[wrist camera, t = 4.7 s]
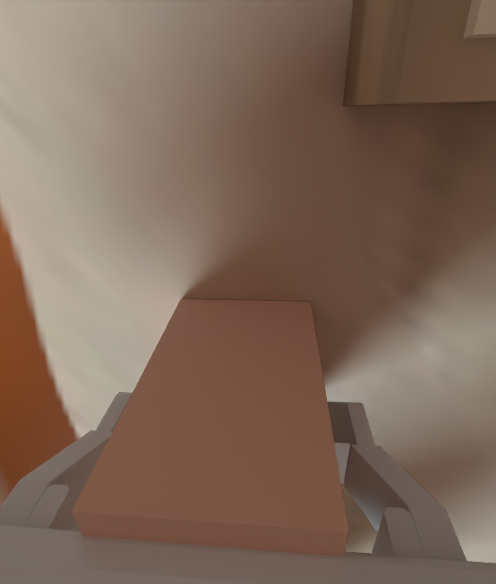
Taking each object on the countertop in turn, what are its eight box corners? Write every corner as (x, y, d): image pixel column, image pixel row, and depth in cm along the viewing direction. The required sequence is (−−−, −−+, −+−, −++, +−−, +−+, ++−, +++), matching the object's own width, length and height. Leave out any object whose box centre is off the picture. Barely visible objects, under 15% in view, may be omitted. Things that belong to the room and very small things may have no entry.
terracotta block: (310, 301, 13) (349, 531, 6) (303, 398, 15) (324, 645, 8) (181, 298, 13) (70, 511, 6) (193, 393, 16) (123, 625, 9)
